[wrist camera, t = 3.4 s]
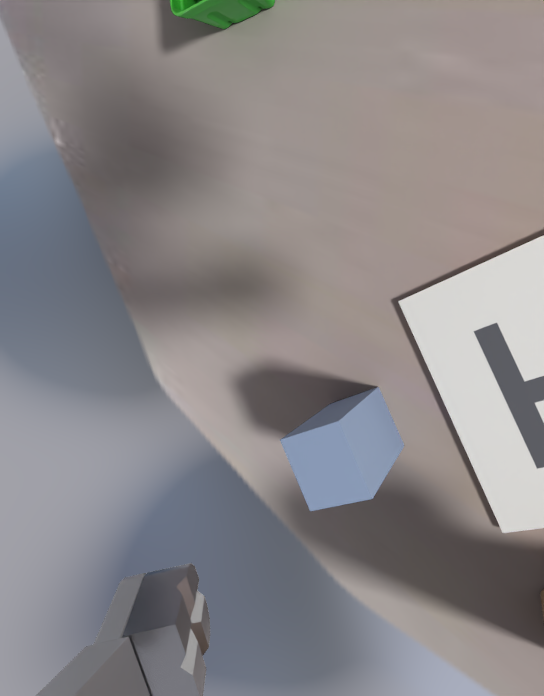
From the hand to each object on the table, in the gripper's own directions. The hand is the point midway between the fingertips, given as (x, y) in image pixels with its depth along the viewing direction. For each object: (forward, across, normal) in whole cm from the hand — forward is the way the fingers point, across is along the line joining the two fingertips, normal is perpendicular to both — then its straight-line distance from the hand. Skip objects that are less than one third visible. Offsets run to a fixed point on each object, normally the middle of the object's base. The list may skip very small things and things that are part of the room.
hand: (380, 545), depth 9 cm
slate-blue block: (+23, -5, +8) cm, 25 cm away
